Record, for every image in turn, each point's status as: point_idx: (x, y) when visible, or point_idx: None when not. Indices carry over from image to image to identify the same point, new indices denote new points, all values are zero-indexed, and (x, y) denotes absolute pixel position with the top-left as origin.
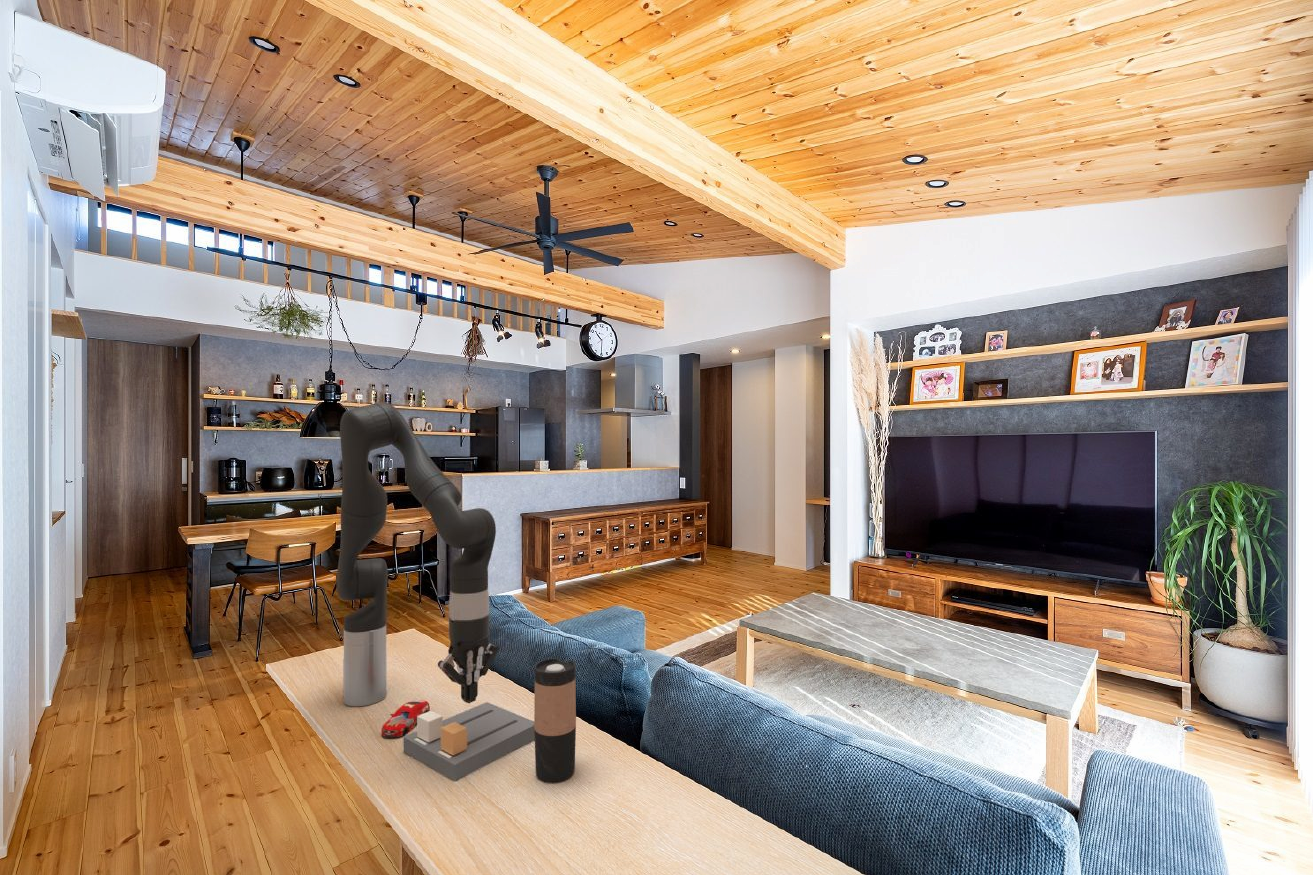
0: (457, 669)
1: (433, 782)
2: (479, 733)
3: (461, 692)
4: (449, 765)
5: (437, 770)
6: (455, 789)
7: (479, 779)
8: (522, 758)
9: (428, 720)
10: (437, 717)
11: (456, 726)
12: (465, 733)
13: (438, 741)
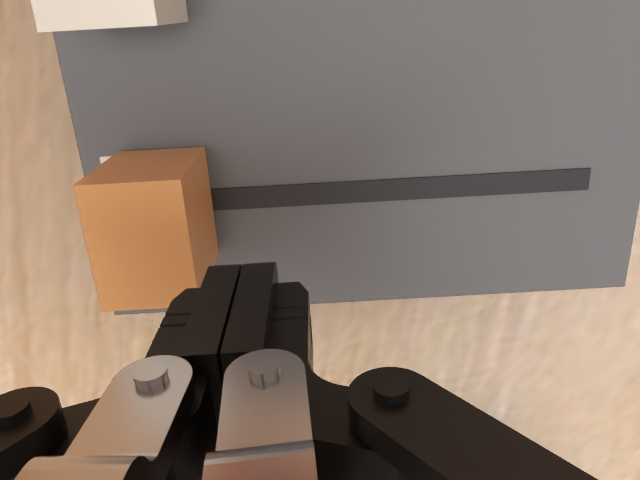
0: (36, 466)
1: (66, 223)
2: (364, 146)
3: (163, 329)
4: None
5: None
6: (115, 326)
7: None
8: (421, 335)
9: (43, 9)
10: (119, 15)
11: (160, 244)
12: None
13: (152, 45)
